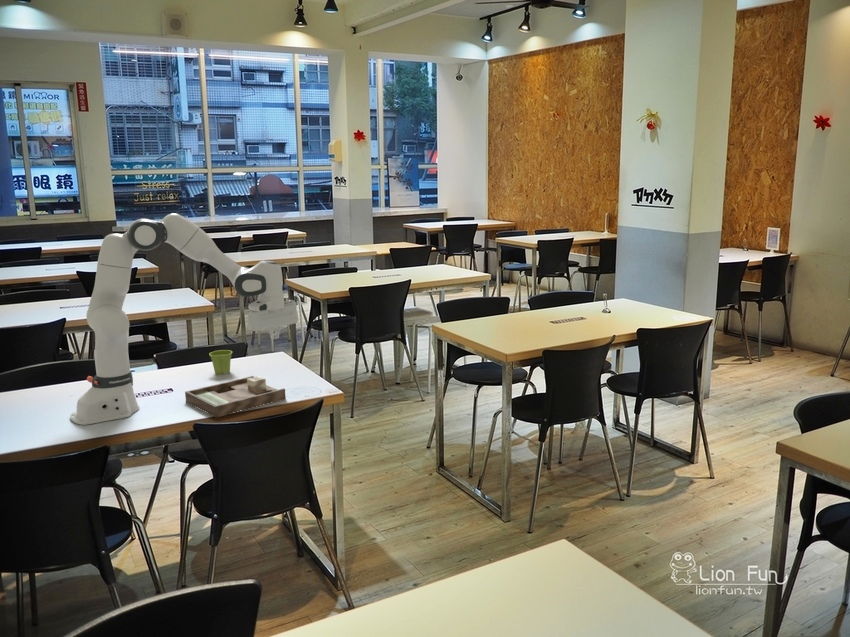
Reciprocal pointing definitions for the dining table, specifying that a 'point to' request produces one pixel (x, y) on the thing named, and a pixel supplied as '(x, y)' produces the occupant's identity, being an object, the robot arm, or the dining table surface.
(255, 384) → the cream block
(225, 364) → the plant pot
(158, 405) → the dining table surface
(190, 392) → the box
